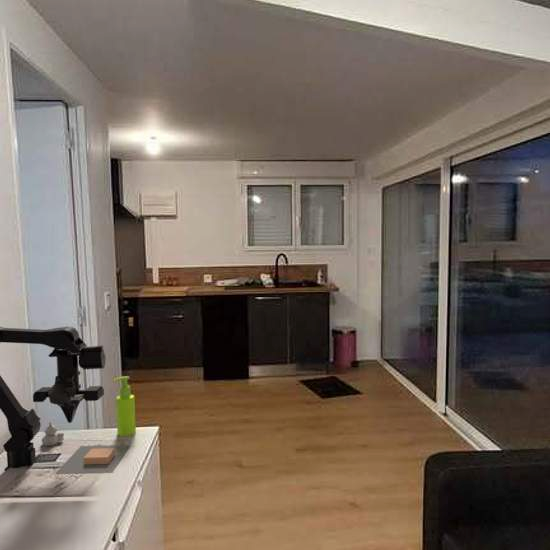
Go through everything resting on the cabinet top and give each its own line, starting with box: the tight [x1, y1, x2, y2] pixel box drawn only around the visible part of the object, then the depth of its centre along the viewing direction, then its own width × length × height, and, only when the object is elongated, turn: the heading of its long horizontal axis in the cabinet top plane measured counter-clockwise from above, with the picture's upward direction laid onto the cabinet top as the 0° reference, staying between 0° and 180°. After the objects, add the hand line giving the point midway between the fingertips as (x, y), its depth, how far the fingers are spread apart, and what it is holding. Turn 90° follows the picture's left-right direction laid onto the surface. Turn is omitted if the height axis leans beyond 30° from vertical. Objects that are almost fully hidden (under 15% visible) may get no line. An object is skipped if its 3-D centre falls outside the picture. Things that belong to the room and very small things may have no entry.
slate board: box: [54, 444, 132, 475], centre depth 139 cm, size 16×18×1 cm
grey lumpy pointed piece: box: [41, 421, 65, 447], centre depth 151 cm, size 5×7×8 cm
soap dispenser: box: [112, 375, 137, 437], centre depth 158 cm, size 6×7×20 cm
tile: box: [84, 448, 115, 464], centre depth 138 cm, size 2×6×7 cm
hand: (70, 422), depth 138 cm, fingers closed
